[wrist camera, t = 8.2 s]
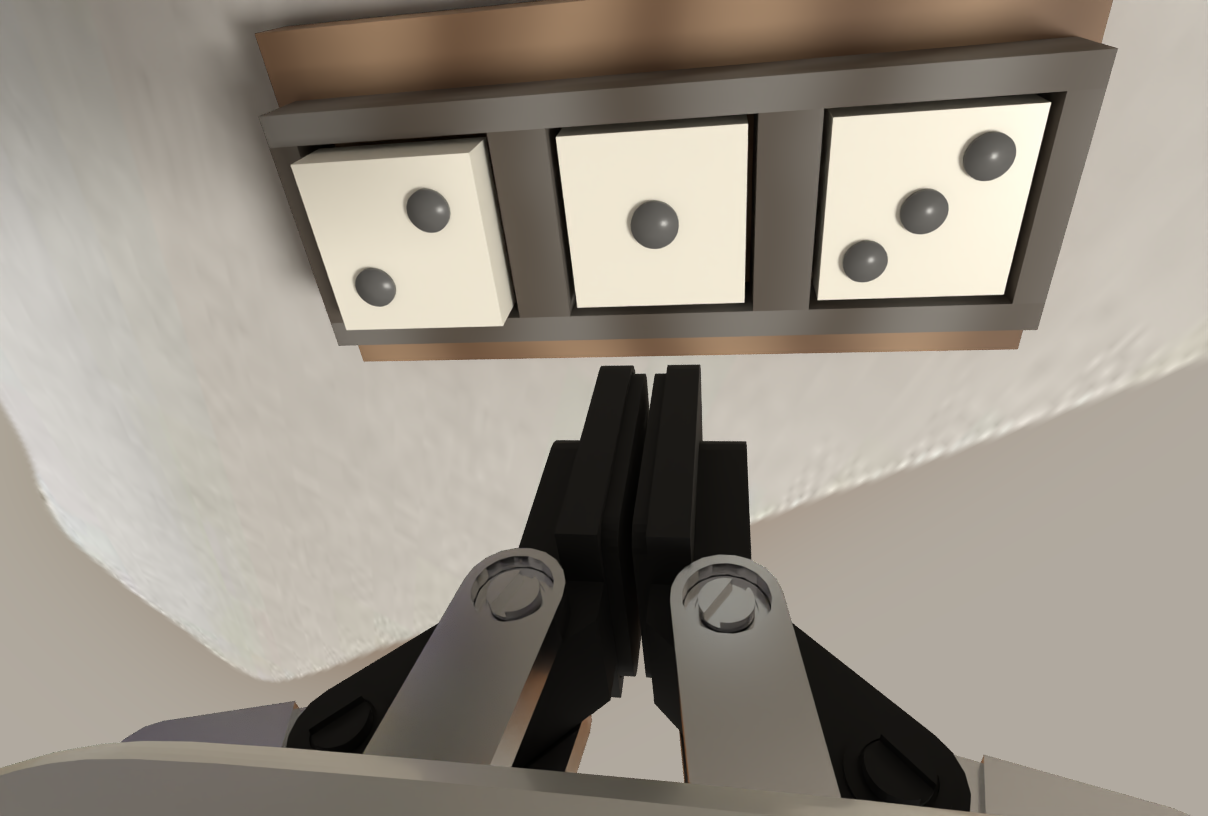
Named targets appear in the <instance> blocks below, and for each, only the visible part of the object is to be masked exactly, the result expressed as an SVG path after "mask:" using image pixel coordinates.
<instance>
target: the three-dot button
mask: <svg viewBox="0 0 1208 816" xmlns="http://www.w3.org/2000/svg"><path fill="white" fill-rule="evenodd" d="M1050 105H1051V102H1049V101H1048V100H1046V99H1044V98H1042V97H1040V96H1038V95H1036V94H1020V95H1006V96H992V97H978V98H964V99H950V100H936V101H922V102H908V103H894V104H880V105H866V106H852V107H838V108H824V118H823V130H822V143H821V156H820V169H819V182H818V195H817V208H816V220H815V233H814V246H813V259H812V272H811V279H812V282H813V286H814V289H815V293H816V296H817V299H818V300H839V299H872V298H905V297H938V296H971V295H1004V291H1005V287H1006V283H1007V279H1008V275H1009V271H1010V267H1011V263H1012V259H1013V255H1014V251H1015V247H1016V243H1017V239H1018V235H1019V231H1020V227H1021V222H1022V218H1023V214H1024V210H1025V206H1026V202H1027V198H1028V194H1029V190H1030V186H1031V182H1032V178H1033V174H1034V170H1035V166H1036V162H1037V158H1038V154H1039V150H1040V146H1041V142H1042V138H1043V134H1044V130H1045V126H1046V122H1047V118H1048V113H1049V109H1050Z"/></svg>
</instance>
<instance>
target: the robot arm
mask: <svg viewBox="0 0 1208 816" xmlns="http://www.w3.org/2000/svg"><path fill="white" fill-rule="evenodd" d="M750 541H751V540H750V516H749V491H748V467H747V445H746V442H745V441H703V440H702V402H701V368H700V365H668V366H667V373H666V374H655V377H654V383H653V390H652V397H651V403H650V410H649V401H648V388H647V377H646V374H635V370H634V366H601V367H600V370H599V374H598V377H597V381H596V384H595V388H594V392H593V395H592V399H591V403H590V406H589V410H588V414H587V417H586V421H585V424H584V428H583V432H582V435H581V439H580V440H556V441H555V442H554V443H553V445H552V447H551V450H550V453H549V456H548V459H547V462H546V465H545V468H544V471H543V474H542V478H541V481H540V484H539V487H538V490H537V493H536V496H535V499H534V502H533V505H532V508H531V511H530V514H529V517H528V521H527V524H526V527H525V530H524V533H523V536H522V539H521V542H520V545H519V548H514V549H509V550H504V551H500V552H498V553H496V554H493V555H491V556H489V557H487V558H485V559H484V560H482V561H481V562H480V563H478V564H477V565H476V566H474V567H473V569H472V570H471V571H470V572H469V574H468V575H467V576H466V577H465V579H464V580H463V582H462V584H461V585H460V587H459V589H458V591H457V592H456V594H455V596H454V598H453V599H452V601H451V603H450V604H449V606H448V608H447V610H446V611H445V613H444V615H443V616H442V618H441V620H440V622H439V623H438V624H436V625H435V626H433V627H431V628H430V629H428V630H426V631H425V632H423V633H421V634H420V635H418V636H416V637H415V638H413V639H412V640H410V641H408V642H407V643H405V644H403V645H402V646H400V647H398V648H397V649H395V650H393V651H392V652H390V653H388V654H387V655H385V656H384V657H382V658H380V659H378V660H377V661H375V662H374V663H372V664H370V665H369V666H367V667H365V668H364V669H362V670H360V671H359V672H357V673H355V674H354V675H352V676H351V677H349V678H347V679H345V680H344V681H342V682H341V683H339V684H337V685H336V686H334V687H332V688H330V689H329V690H327V691H326V692H325V693H323V694H322V695H321V696H319V697H318V698H317V699H315V700H314V701H313V702H311V703H310V704H309V705H308V707H305V708H299V707H298V705H297V704H296V702H295V701H292V702H286V703H279V704H272V705H266V706H259V707H253V708H246V709H239V710H233V711H227V712H220V713H213V714H206V715H201V716H193V717H186V718H180V719H174V720H167V721H162V722H158V723H155V724H152V725H149V726H146V727H143V728H142V729H140V730H138V731H137V732H135V733H133V734H132V735H130V736H129V737H127V738H125V739H124V740H123V741H122V742H121V743H108V744H100V745H93V746H87V747H81V748H75V749H70V750H64V751H59V752H53V753H50V754H46V755H43V756H39V757H36V758H32V759H29V760H26V761H22V762H19V763H15V764H12V765H9V766H5V767H2V768H0V816H1190V815H1188V814H1185V813H1183V812H1181V811H1178V810H1176V809H1174V808H1171V807H1167V806H1163V805H1160V804H1157V803H1153V802H1149V801H1145V800H1142V799H1139V798H1135V797H1132V796H1128V795H1125V794H1121V793H1118V792H1114V791H1110V790H1107V789H1103V788H1100V787H1096V786H1093V785H1089V784H1085V783H1082V782H1079V781H1075V780H1071V779H1068V778H1065V777H1061V776H1058V775H1054V774H1050V773H1047V772H1043V771H1040V770H1036V769H1033V768H1029V767H1026V766H1022V765H1019V764H1015V763H1011V762H1008V761H1004V760H1001V759H997V758H994V757H990V756H987V755H983V758H982V761H981V763H980V762H977V761H973V760H970V759H966V758H963V757H959V756H956V755H954V754H953V753H952V752H951V751H950V750H949V749H948V748H947V747H946V746H945V745H944V744H943V743H942V742H941V741H940V740H939V739H938V738H937V737H936V736H935V735H934V734H933V733H931V732H930V731H929V730H928V729H926V728H925V727H924V726H922V725H921V724H920V723H919V722H917V721H916V720H915V719H914V718H912V717H911V716H910V715H908V714H907V713H906V712H905V711H903V710H902V709H901V708H900V707H898V706H897V705H896V704H894V703H893V702H892V701H891V700H889V699H888V698H887V697H886V696H884V695H883V694H882V693H881V692H879V691H878V690H877V689H875V688H874V687H873V686H872V685H870V684H869V683H868V682H867V681H865V680H864V679H863V678H861V677H860V676H859V675H858V674H856V673H855V672H854V671H853V670H851V669H850V668H849V667H847V666H846V665H845V664H844V663H842V662H841V661H840V660H839V659H837V658H836V657H835V656H833V655H832V654H831V653H830V652H828V651H827V650H826V649H825V648H823V647H822V646H821V645H819V644H818V643H817V642H816V641H814V640H813V639H812V638H811V637H809V636H808V635H807V634H806V633H804V632H803V631H802V630H801V629H799V628H798V627H797V626H795V625H794V624H793V623H792V621H791V618H790V614H789V610H788V607H787V603H786V600H785V596H784V593H783V591H782V588H781V586H780V584H779V582H778V580H777V579H776V578H775V577H774V576H773V575H772V574H771V573H770V572H769V571H768V570H767V569H766V568H765V567H763V566H762V565H759V564H758V563H756V562H754V561H753V560H751V542H750ZM641 637H642V646H643V655H644V663H645V673H646V677H650V678H652V684H653V694H654V703H655V704H656V706H658V708H659V709H660V710H661V711H662V712H663V713H664V714H665V715H666V716H667V717H668V718H669V719H670V721H671V722H672V723H673V724H674V725H675V726H676V727H677V728H678V729H679V734H680V746H681V756H682V765H683V774H684V783H678V782H668V781H657V780H646V779H635V778H624V777H614V776H602V775H591V774H581V773H577V771H578V768H579V765H580V762H581V759H582V755H583V753H584V750H585V746H586V743H587V740H588V737H589V734H590V729H591V723H592V716H591V714H593V713H594V712H595V711H597V710H598V709H599V708H601V707H602V706H603V705H605V704H606V703H607V702H609V701H610V699H611V697H619V698H621V694H622V687H623V679H624V676H636V673H637V667H638V658H639V649H640V641H641Z"/></svg>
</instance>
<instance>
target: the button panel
mask: <svg viewBox="0 0 1208 816" xmlns="http://www.w3.org/2000/svg"><path fill="white" fill-rule="evenodd" d="M1112 2H1113V0H543V1H533V2H524V3H514V4H504V5H494V6H484V7H474V8H464V9H454V10H444V11H434V12H424V13H415V14H405V15H395V16H385V17H375V18H365V19H355V20H345V21H335V22H325V23H316V24H306V25H296V26H286V27H281V28H276V29H272V30H268V31H264V32H260V33H255V36H256V39H257V42H258V45H259V48H260V51H261V54H262V57H263V60H264V63H265V66H266V69H267V72H268V75H269V78H270V81H271V84H272V87H273V90H274V93H275V96H276V99H277V102H278V105H279V108H278V109H276V110H273V111H271V112H268V113H266V114H264V115H261V116H259V120H260V122H261V125H262V128H263V131H264V134H265V137H266V140H267V142H268V145H269V148H270V151H271V154H272V157H273V160H274V162H275V165H276V168H277V171H278V174H279V177H280V179H281V182H282V185H283V188H284V191H285V194H286V197H287V199H288V202H289V205H290V208H291V211H292V214H293V217H294V219H295V222H296V225H297V228H298V231H299V234H300V237H301V239H302V242H303V245H304V248H305V251H306V254H307V256H308V259H309V262H310V265H311V268H312V271H313V274H314V276H315V279H316V282H317V285H318V288H319V291H320V294H321V296H322V299H323V302H324V305H325V308H326V311H327V314H328V316H329V319H330V322H331V325H332V328H333V331H334V333H335V336H336V339H337V342H338V345H339V346H346V345H358V346H359V349H360V352H361V355H362V358H363V361H417V360H470V359H523V358H576V357H629V356H683V355H736V354H789V353H842V352H895V351H948V350H1001V349H1018V346H1019V343H1020V339H1021V335H1022V332H1023V330H1037V329H1038V326H1039V322H1040V319H1041V315H1042V312H1043V308H1044V305H1045V301H1046V298H1047V294H1048V291H1049V287H1050V284H1051V280H1052V277H1053V273H1054V270H1055V266H1056V263H1057V259H1058V256H1059V252H1060V249H1061V245H1062V242H1063V238H1064V235H1065V231H1066V228H1067V224H1068V221H1069V217H1070V214H1071V210H1072V207H1073V203H1074V200H1075V196H1076V193H1077V189H1078V186H1079V182H1080V179H1081V175H1082V172H1083V168H1084V165H1085V161H1086V158H1087V154H1088V151H1089V147H1090V144H1091V140H1092V137H1093V133H1094V130H1095V127H1096V123H1097V120H1098V116H1099V113H1100V109H1101V106H1102V102H1103V99H1104V95H1105V92H1106V88H1107V85H1108V81H1109V78H1110V74H1111V71H1112V67H1113V64H1114V60H1115V57H1116V53H1117V50H1118V48H1115V47H1111V46H1108V45H1105V44H1102V43H1101V42H1102V39H1103V35H1104V31H1105V28H1106V24H1107V20H1108V17H1109V13H1110V9H1111V6H1112ZM1020 94H1036V95H1038V96H1040V97H1042V98H1044V99H1046V100H1048V101H1049V102H1051V105H1050V109H1049V113H1048V118H1047V122H1046V126H1045V130H1044V134H1043V138H1042V142H1041V146H1040V150H1039V154H1038V158H1037V162H1036V166H1035V170H1034V174H1033V178H1032V182H1031V186H1030V190H1029V194H1028V198H1027V202H1026V206H1025V210H1024V214H1023V218H1022V222H1021V227H1020V231H1019V235H1018V239H1017V243H1016V247H1015V251H1014V255H1013V259H1012V263H1011V267H1010V271H1009V275H1008V279H1007V283H1006V287H1005V291H1004V295H971V296H938V297H905V298H872V299H839V300H818V299H817V296H816V293H815V289H814V286H813V282H812V279H811V272H812V259H813V246H814V233H815V220H816V208H817V195H818V182H819V169H820V156H821V143H822V130H823V118H824V108H838V107H852V106H866V105H880V104H894V103H908V102H922V101H936V100H950V99H964V98H978V97H992V96H1006V95H1020ZM740 114H746V115H747V121H748V152H747V201H746V249H745V298H744V303H715V304H682V305H649V306H616V307H583V308H577V300H576V292H575V285H574V277H573V269H572V261H571V253H570V245H569V237H568V230H567V222H566V214H565V206H564V198H563V190H562V182H561V175H560V167H559V159H558V151H557V143H556V136H557V135H558V133H559V132H560V130H561V129H562V128H563V127H572V126H586V125H600V124H614V123H628V122H642V121H656V120H670V119H684V118H698V117H712V116H726V115H740ZM477 137H486V140H487V145H488V151H489V156H490V162H491V167H492V173H493V178H494V184H495V189H496V195H497V200H498V206H499V212H500V217H501V223H502V228H503V234H504V239H505V245H506V250H507V256H508V261H509V267H510V272H511V278H512V283H513V289H514V294H515V300H516V302H515V304H514V306H513V308H512V310H511V311H510V313H509V315H508V317H507V319H506V321H505V323H504V325H503V326H486V327H448V328H410V329H372V330H346V327H345V324H344V321H343V318H342V315H341V312H340V309H339V307H338V304H337V301H336V298H335V295H334V292H333V289H332V286H331V283H330V280H329V277H328V274H327V271H326V268H325V265H324V262H323V259H322V256H321V253H320V250H319V248H318V245H317V242H316V239H315V236H314V233H313V230H312V227H311V224H310V221H309V218H308V215H307V212H306V209H305V206H304V203H303V200H302V197H301V194H300V191H299V188H298V186H297V183H296V180H295V177H294V174H293V171H292V168H291V164H293V163H295V162H296V161H298V160H300V159H302V158H303V157H305V156H307V155H309V154H310V153H312V152H314V151H316V150H317V149H321V148H335V147H349V146H363V145H377V144H392V143H406V142H420V141H434V140H448V139H462V138H477Z"/></svg>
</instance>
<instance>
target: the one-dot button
mask: <svg viewBox="0 0 1208 816" xmlns="http://www.w3.org/2000/svg"><path fill="white" fill-rule="evenodd" d="M556 143H557V151H558V159H559V167H560V175H561V182H562V190H563V198H564V206H565V214H566V222H567V230H568V237H569V245H570V253H571V261H572V269H573V277H574V285H575V292H576V300H577V308H583V307H616V306H649V305H682V304H715V303H744V298H745V249H746V201H747V152H748V121H747V115H746V114H740V115H726V116H712V117H698V118H684V119H670V120H656V121H642V122H628V123H614V124H600V125H586V126H572V127H563V128H562V129H561V130H560V132H559V133H558V135H557V136H556Z"/></svg>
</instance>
